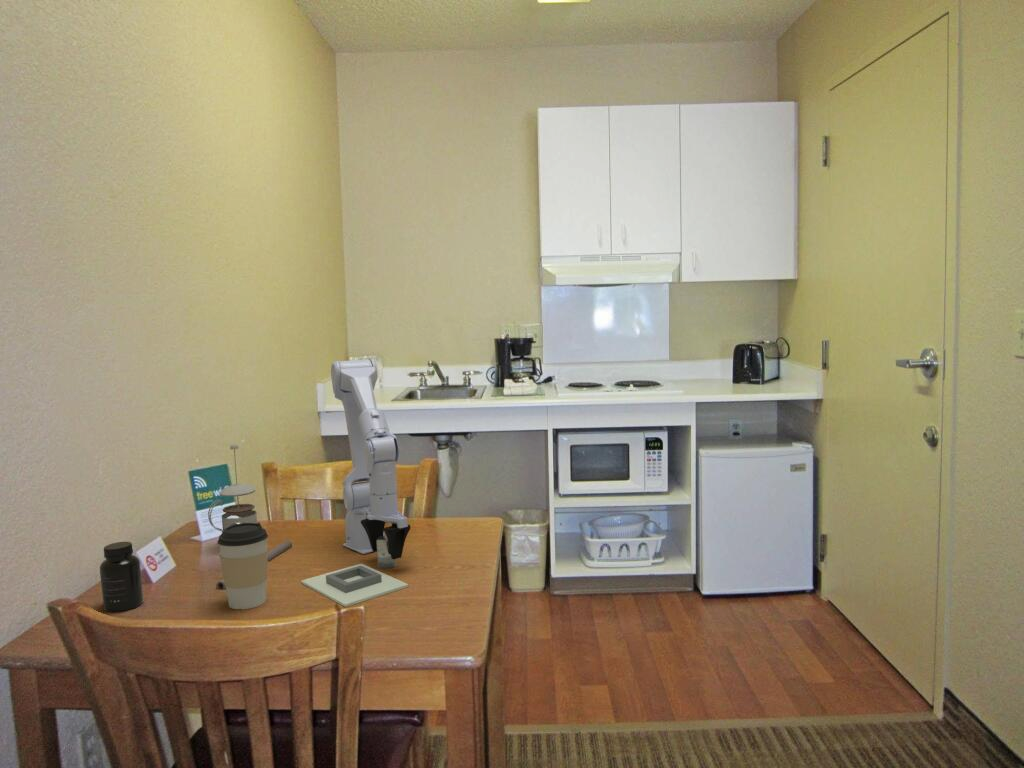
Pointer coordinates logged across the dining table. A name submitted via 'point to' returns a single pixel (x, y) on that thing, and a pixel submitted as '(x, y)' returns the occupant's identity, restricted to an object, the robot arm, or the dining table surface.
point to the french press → (236, 510)
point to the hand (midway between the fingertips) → (386, 554)
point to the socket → (354, 584)
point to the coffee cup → (244, 564)
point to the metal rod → (271, 555)
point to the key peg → (384, 554)
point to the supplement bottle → (120, 578)
